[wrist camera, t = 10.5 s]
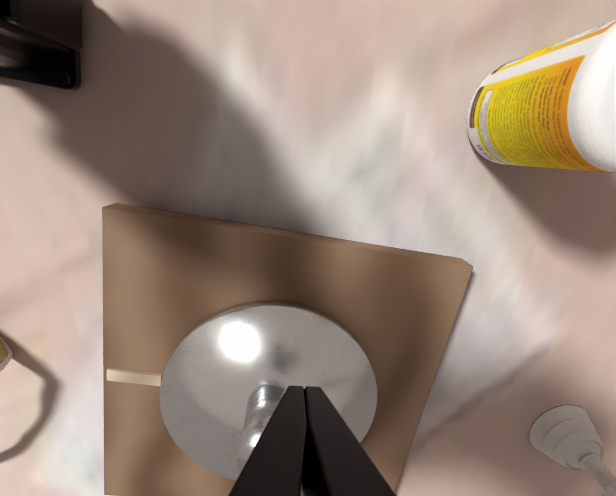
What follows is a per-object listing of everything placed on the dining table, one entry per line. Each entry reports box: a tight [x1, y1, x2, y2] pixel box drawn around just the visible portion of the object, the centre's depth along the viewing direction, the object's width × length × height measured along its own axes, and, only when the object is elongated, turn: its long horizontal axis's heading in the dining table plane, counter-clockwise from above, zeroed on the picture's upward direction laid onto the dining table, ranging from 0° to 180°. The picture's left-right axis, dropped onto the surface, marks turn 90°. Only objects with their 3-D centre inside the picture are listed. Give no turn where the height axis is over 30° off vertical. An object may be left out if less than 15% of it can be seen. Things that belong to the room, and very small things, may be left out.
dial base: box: [102, 203, 473, 496], centre depth 23 cm, size 22×22×2 cm
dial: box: [159, 300, 377, 480], centre depth 20 cm, size 17×14×5 cm
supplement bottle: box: [467, 20, 616, 173], centre depth 14 cm, size 6×6×10 cm
